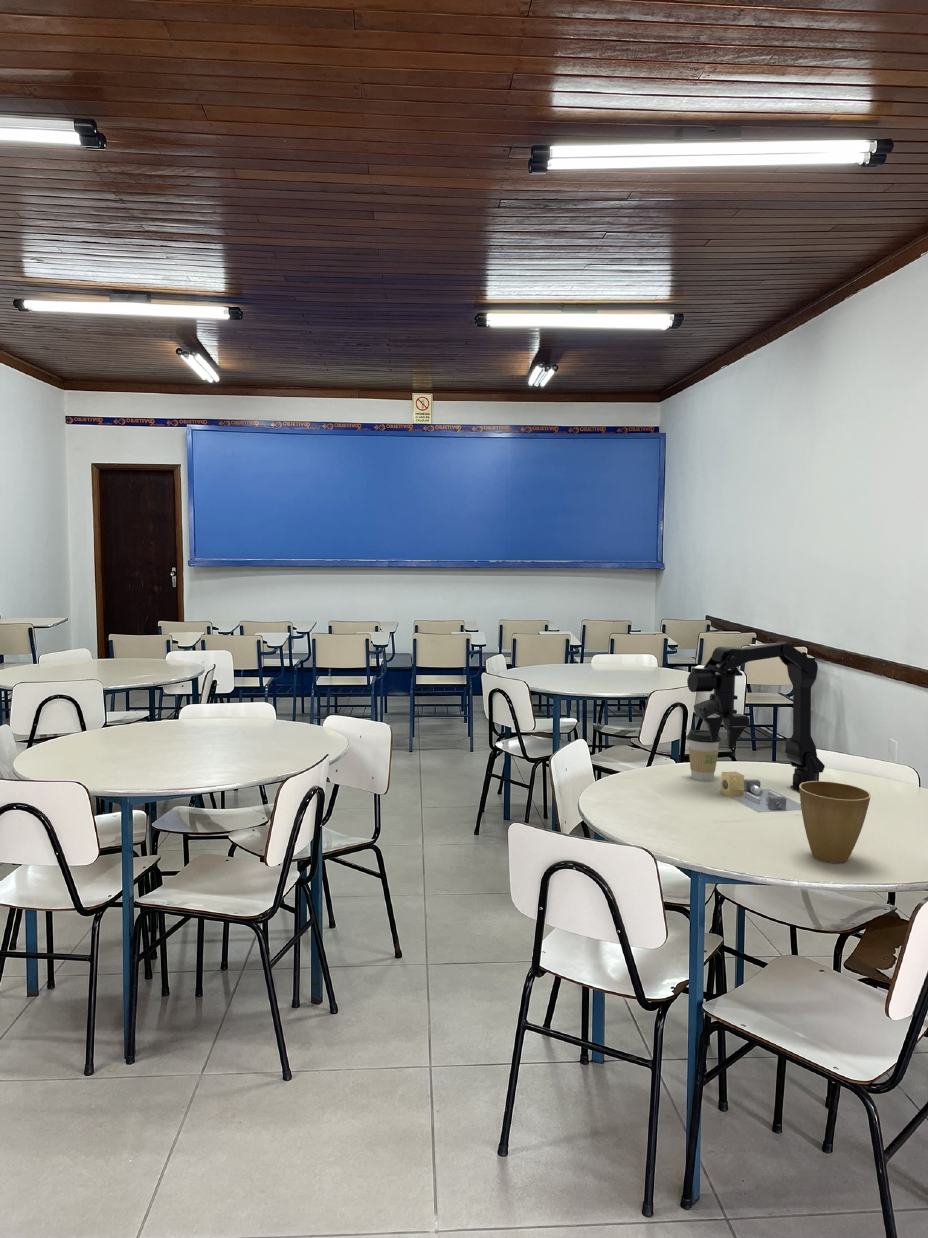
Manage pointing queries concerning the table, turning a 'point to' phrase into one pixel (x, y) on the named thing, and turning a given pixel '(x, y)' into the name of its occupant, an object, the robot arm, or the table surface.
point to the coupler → (732, 784)
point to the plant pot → (832, 818)
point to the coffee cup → (702, 754)
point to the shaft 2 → (776, 803)
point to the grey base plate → (760, 801)
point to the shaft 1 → (753, 787)
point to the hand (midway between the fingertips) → (722, 745)
